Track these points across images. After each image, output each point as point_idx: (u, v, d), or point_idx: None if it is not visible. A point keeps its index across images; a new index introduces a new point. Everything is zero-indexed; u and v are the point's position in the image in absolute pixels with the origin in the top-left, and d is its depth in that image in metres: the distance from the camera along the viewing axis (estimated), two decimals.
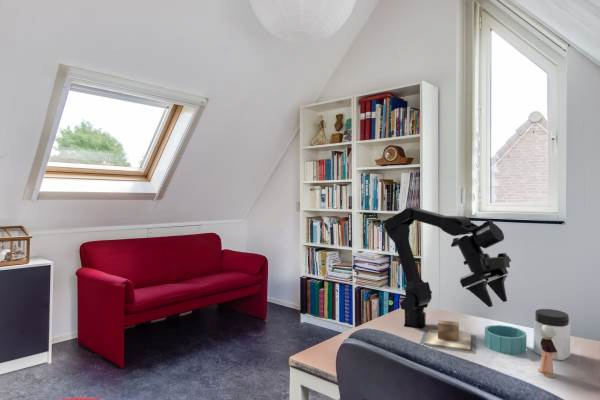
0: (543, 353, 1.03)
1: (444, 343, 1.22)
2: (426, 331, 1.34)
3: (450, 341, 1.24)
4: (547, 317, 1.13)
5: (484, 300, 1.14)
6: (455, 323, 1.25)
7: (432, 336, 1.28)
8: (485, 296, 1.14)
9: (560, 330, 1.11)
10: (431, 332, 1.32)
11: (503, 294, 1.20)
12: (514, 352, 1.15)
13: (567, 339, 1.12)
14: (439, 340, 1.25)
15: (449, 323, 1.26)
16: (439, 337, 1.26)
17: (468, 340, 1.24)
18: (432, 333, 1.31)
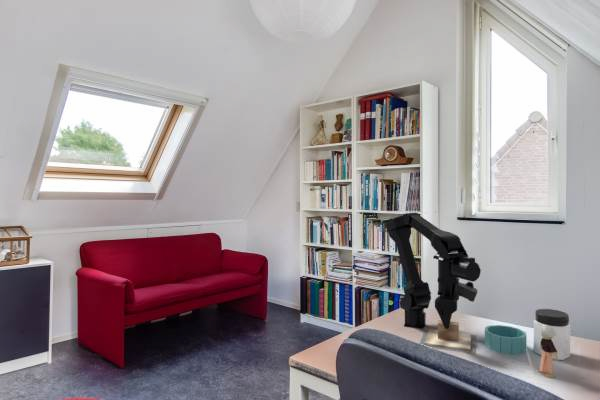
0: (543, 353, 1.03)
1: (444, 343, 1.22)
2: (426, 331, 1.34)
3: (450, 341, 1.24)
4: (547, 317, 1.13)
5: (444, 322, 1.22)
6: (455, 323, 1.25)
7: (432, 336, 1.28)
8: (448, 320, 1.21)
9: (560, 330, 1.11)
10: (431, 332, 1.32)
11: None
12: (514, 352, 1.15)
13: (567, 339, 1.12)
14: (439, 340, 1.25)
15: None
16: (439, 337, 1.26)
17: (468, 340, 1.24)
18: (432, 333, 1.31)
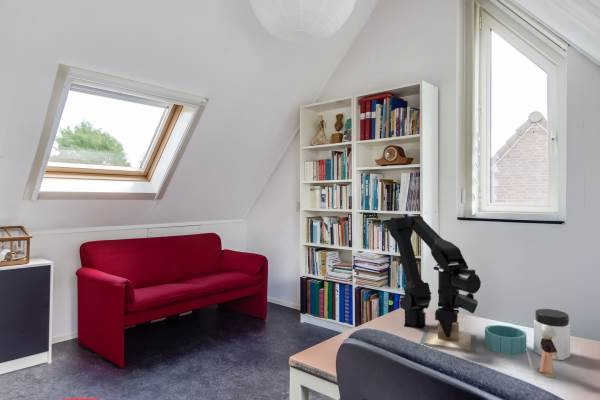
0: (543, 353, 1.03)
1: (444, 343, 1.22)
2: (426, 331, 1.34)
3: (450, 341, 1.24)
4: (547, 317, 1.13)
5: (445, 331, 1.24)
6: (455, 323, 1.25)
7: (432, 336, 1.28)
8: (449, 328, 1.24)
9: (560, 330, 1.11)
10: (431, 332, 1.32)
11: None
12: (514, 352, 1.15)
13: (567, 339, 1.12)
14: (439, 340, 1.25)
15: None
16: (439, 337, 1.26)
17: (468, 340, 1.24)
18: (432, 333, 1.31)
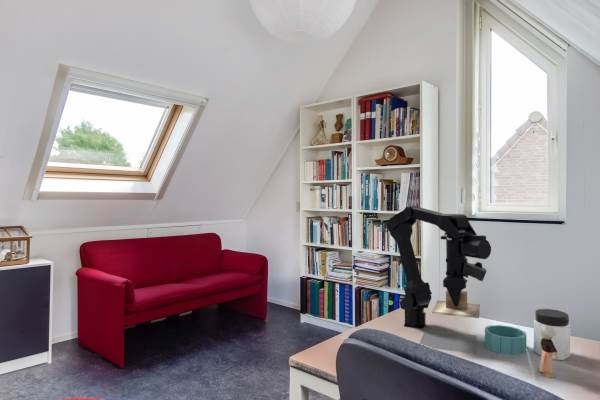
0: (543, 353, 1.03)
1: (452, 311, 1.21)
2: (426, 331, 1.34)
3: (458, 310, 1.23)
4: (547, 317, 1.13)
5: (454, 300, 1.23)
6: (463, 292, 1.24)
7: (440, 306, 1.27)
8: (457, 297, 1.22)
9: (560, 330, 1.11)
10: (439, 303, 1.31)
11: None
12: (514, 352, 1.15)
13: (567, 339, 1.12)
14: (447, 309, 1.24)
15: None
16: (447, 306, 1.25)
17: (477, 309, 1.23)
18: (440, 303, 1.30)
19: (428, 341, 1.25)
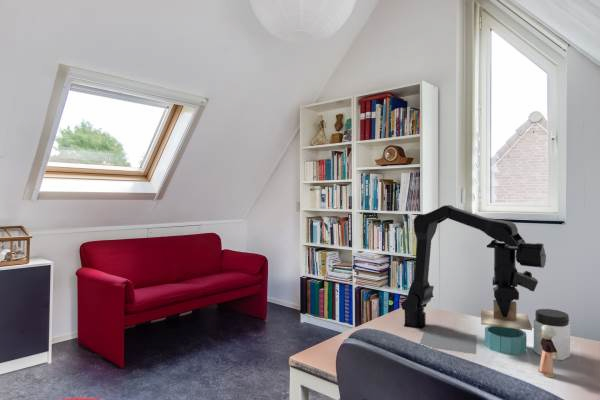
0: (543, 353, 1.03)
1: (502, 323, 1.16)
2: (426, 331, 1.34)
3: (508, 321, 1.18)
4: (547, 317, 1.13)
5: (503, 310, 1.18)
6: (512, 302, 1.20)
7: (487, 316, 1.22)
8: (506, 307, 1.18)
9: (560, 330, 1.11)
10: (484, 312, 1.26)
11: None
12: (514, 352, 1.15)
13: (567, 339, 1.12)
14: (496, 320, 1.19)
15: None
16: (495, 317, 1.20)
17: (526, 320, 1.19)
18: (485, 313, 1.25)
19: (428, 341, 1.25)
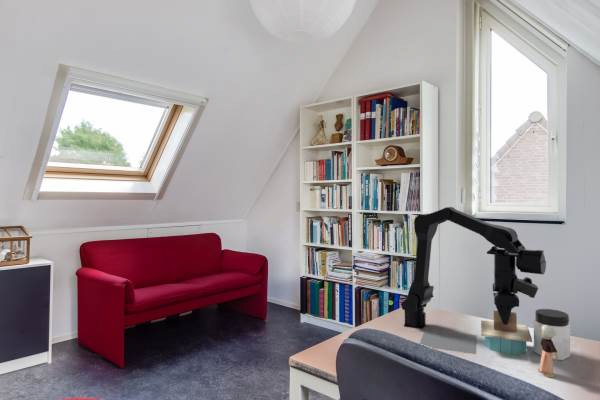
0: (543, 353, 1.03)
1: (502, 334, 1.17)
2: (426, 331, 1.34)
3: (508, 332, 1.18)
4: (547, 317, 1.13)
5: (503, 318, 1.17)
6: (512, 313, 1.20)
7: (487, 327, 1.22)
8: (507, 315, 1.17)
9: (560, 330, 1.11)
10: (484, 323, 1.26)
11: None
12: (514, 352, 1.15)
13: (567, 339, 1.12)
14: (496, 331, 1.19)
15: None
16: (495, 328, 1.20)
17: (526, 331, 1.19)
18: (485, 324, 1.25)
19: (428, 341, 1.25)
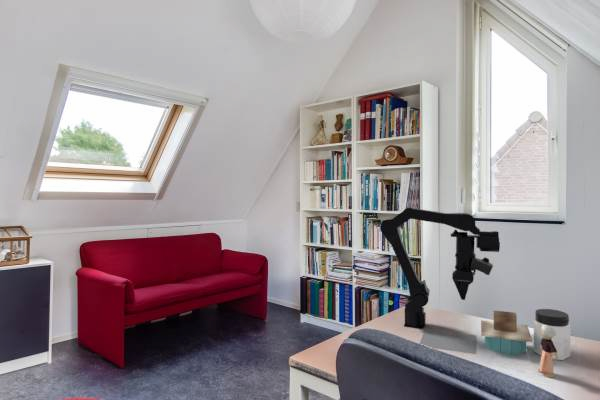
0: (543, 353, 1.03)
1: (502, 334, 1.17)
2: (426, 331, 1.34)
3: (508, 332, 1.18)
4: (547, 317, 1.13)
5: (461, 293, 1.31)
6: (512, 313, 1.20)
7: (487, 327, 1.22)
8: (464, 291, 1.30)
9: (560, 330, 1.11)
10: (484, 323, 1.26)
11: None
12: (514, 352, 1.15)
13: (567, 339, 1.12)
14: (496, 331, 1.19)
15: (506, 313, 1.20)
16: (495, 328, 1.20)
17: (526, 331, 1.19)
18: (485, 324, 1.25)
19: (428, 341, 1.25)
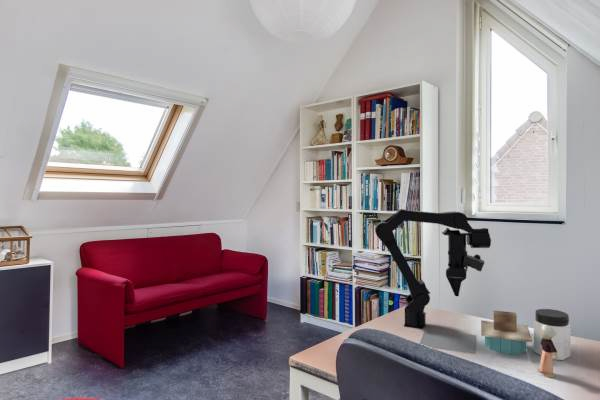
0: (543, 353, 1.03)
1: (502, 334, 1.17)
2: (426, 331, 1.34)
3: (508, 332, 1.18)
4: (547, 317, 1.13)
5: (454, 290, 1.34)
6: (512, 313, 1.20)
7: (487, 327, 1.22)
8: (457, 288, 1.33)
9: (560, 330, 1.11)
10: (484, 323, 1.26)
11: None
12: (514, 352, 1.15)
13: (567, 339, 1.12)
14: (496, 331, 1.19)
15: (506, 313, 1.20)
16: (495, 328, 1.20)
17: (526, 331, 1.19)
18: (485, 324, 1.25)
19: (428, 341, 1.25)
